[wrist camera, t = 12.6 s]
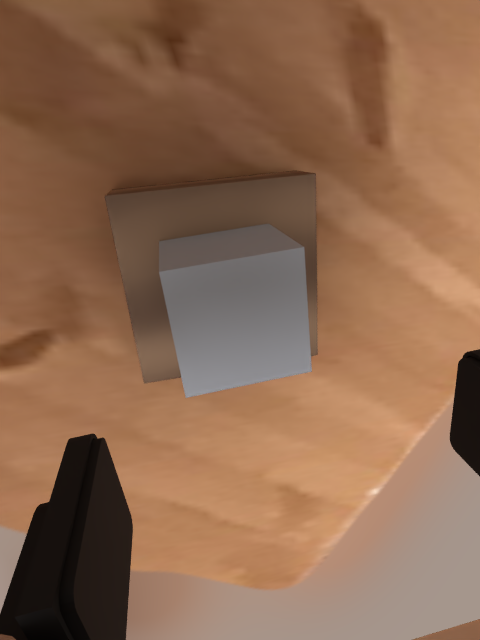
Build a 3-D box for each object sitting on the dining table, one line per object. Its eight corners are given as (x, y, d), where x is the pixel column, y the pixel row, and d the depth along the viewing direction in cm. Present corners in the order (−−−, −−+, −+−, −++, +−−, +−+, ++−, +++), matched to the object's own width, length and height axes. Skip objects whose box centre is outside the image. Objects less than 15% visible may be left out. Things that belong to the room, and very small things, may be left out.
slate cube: (159, 241, 21) (158, 271, 16) (268, 223, 22) (304, 247, 17) (179, 341, 24) (185, 397, 18) (277, 322, 25) (311, 371, 19)
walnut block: (113, 189, 24) (104, 195, 20) (293, 170, 25) (315, 173, 22) (146, 353, 28) (144, 383, 25) (298, 329, 30) (317, 354, 26)
